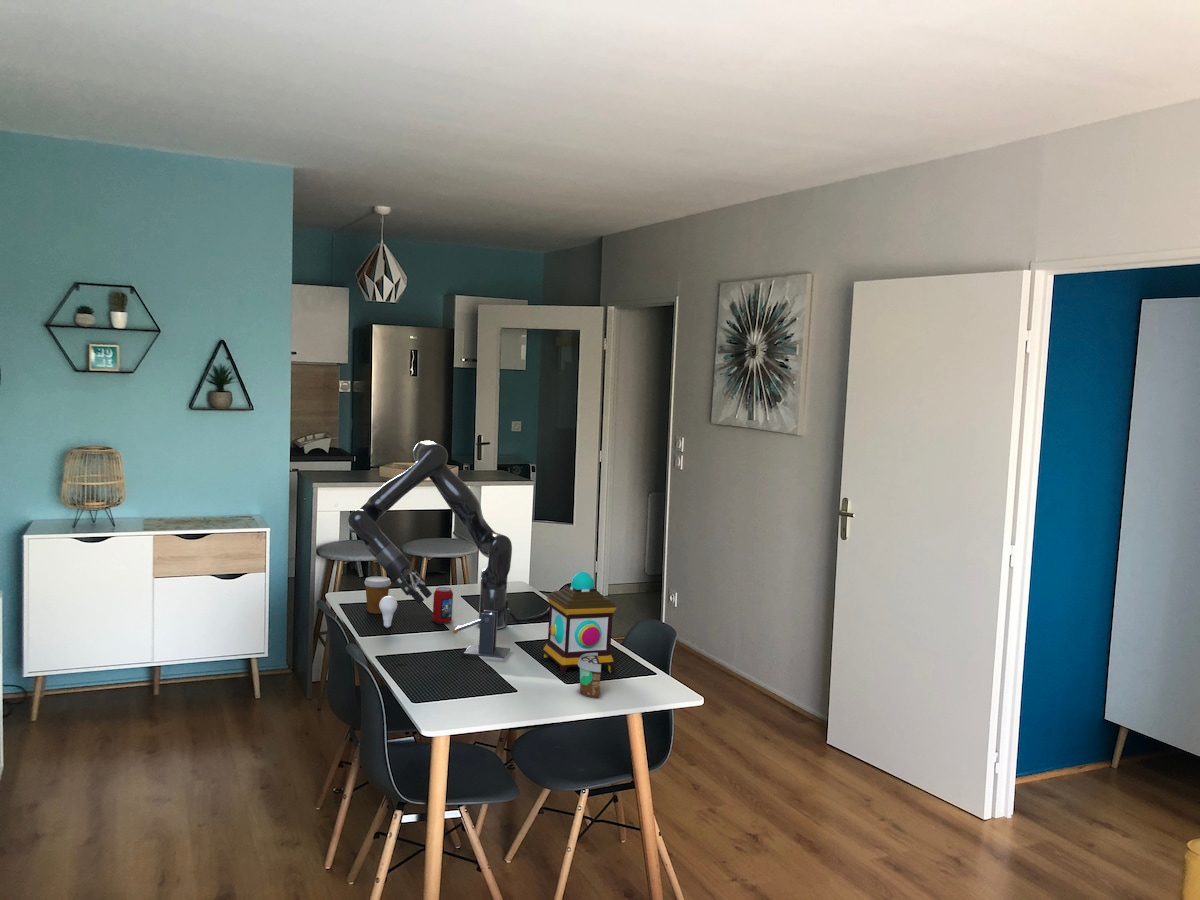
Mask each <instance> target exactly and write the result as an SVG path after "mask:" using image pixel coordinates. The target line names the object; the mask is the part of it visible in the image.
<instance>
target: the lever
mask: <svg viewBox="0 0 1200 900" xmlns="http://www.w3.org/2000/svg"><path fill="white" fill-rule="evenodd" d="M489 614H493V613H489ZM479 623H480V620H479V619H477V620H475V621H471V622H469V623H466V624H464V625H457V627H455V629H454V630H452V631H453V634H455V635H456V634H457V633H458V632H460V631H462V630H465V629H468V628H471V627H473V626H476V625H477V626H478V624H479Z"/></svg>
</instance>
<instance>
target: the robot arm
mask: <svg viewBox="0 0 1200 900" xmlns="http://www.w3.org/2000/svg"><path fill="white" fill-rule="evenodd" d="M412 456H413V460H414V464H413V465H412V466H411V467H409V468H408V469H407V470H405V471H404V472H403V473H401V474H399V475H397V476H395V477H394V478H392V479H390V480H388V481H387V482H386V483H384V484H383V485H382V486H381V487H379V488H378V489H377V490H376V491H375V492H374V493H373V494H372V495H371V496H370V497H369V498H368V499H367V501H366V502H365V503H364V504H363V505H362V506H361V507H360V508H358V509H354V510H352V511H351V512H350V513H349V515H348V517H347V526H348V529H349V531H351V532H352V533H353V534H356V535H357V536H358V537H359V539H361V541H362V542H363V543H364V546H365V547H366V548H367V550H368V551H369V552H370V553H371V554H372V556H373V557H374V559H375V560H376V561H377V563H378V564H379V565H380V567H381V568H382V569H383V570H384V571H385V572H386V573H387V575H389V577H390V578H391V579H393V580H394V579H395V583H396V584H397V586H398V587H399V588H400V590H402V592H403V593H404V595H406V596H411V598H412V599H413V600H414V601H415V602H416V603H417V604H418V605H420V604H422V603H423V602H424V601H425V598H426V599H429V598H430V597H431V596H432V595H433V593H432V591H431V590H430V589H429V588H428V587H427V586H426V579H424V577H423V576H422V575H421V574H420V573H419V572H418V571H417V570H416V569H415V568H412V569H410V568H409V567H411V565H412V562H410V560H409V559H408V558H407V557H406V555H404V553H403V552H402V550H400V548H399V547H397V546H396V545H395V544H394V543H393V542H392V540H390V539H389V537H388V536H387V535H386V534H385V533H384V532H383V531H382V530H381V528H380V527H379V526H378V524H377V523H376V522H377V521H378V520H380V518H381V517H383V515H385V513H387V512H388V511H389V510H390V509H391V508H392V507H393V506H395V504H397V503H398V502H399V501H400V500H401V499H402V498H403V497H405V496H406V494H409V492H410V491H412V490H413V489H414V488H415V487H417V486H418V485H420V484H421V483H422V482H424V481H425V480H427V479H428V478H429V480H430V481H431V482H432V483H433V485H434V486H435V488H436V489H437V491H438V493H439V494H440V495H441V497H442V498H443V500H444V501H445V503H446V504H447V506H448V508H449V509H450V510H451V512H452V513H453V514H454V515H455V517H456V518H457V519H458V521H459V522H460V523H461V524H462V526H463V527H464V529H466V531H467V532H468V533H469V535H470V537H471V538H472V540H473V542H474V543H475V545H476V548H477V549H478V550H479V553H481V555H483V556H484V557H485V558H487V559H488V560H487V561H488V562H487V567H486V568H483V569H482V570H481V574H480V591H479V607H478V620H480V618H481V613H484V610H490V611H498V617H497V630H503V629H504V628H505V627H507V625H508V618H510V617H511V618H512V619H513V620H514V621H516V622H517V621H518V622H521V621H530V620H535V619H539V618H542V617H545V616H546V615H547V614H549V612H550V606H549V607H548V608H547V609H546V610H545V611H544V612H542V613H540V614H537V615H533V616H530V617H524V618H523V617H522V618H520V617H516V616H515V614H514V613H513V612H512V611H511V608H509V600H508V598H507V592H508V590H507V589H508V575H509V573H510V571H511V565H512V555H513V543H512V541H511V539H510V538H509V537H508V536H506V535H504V534H502V533H498V532H496V531H495V530H493V528H492V527H491V526H490V525H489V523H488V522H487V521H486V519H485V518H484V516H483V515H484V514H483V510H482V506H481V504H480V500H478V498H477V497H476V495H475V494H474V493H473V491H472V489H470V487H469V486H468V485H467V484H466V483H465V482H464V481H463V480H462V479H461V478H460V477H459V476H458V475H457V474H455V472H453V471H452V470H451V468H450V467H449V466H448V465H447V462H448V460H449V453H448V451H447V449H446V448H445V447H444V446H443V445H441V444H440V443H436V442H434V441H431V440H424V441H420V442H418V443H417V444H416V445H415V446H414V448H413V453H412ZM417 589H418V590H419V591H420V593H421V594H420V593H419V591H418V590H417ZM422 595H423V596H424V597H425V598H424V597H423V596H422ZM477 626H478V628H480V623H479V624H477Z"/></svg>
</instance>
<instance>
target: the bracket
mask: <svg viewBox="0 0 1200 900" xmlns="http://www.w3.org/2000/svg"><path fill="white" fill-rule="evenodd" d="M489 613H493V614H489ZM497 617H498V611H490V610H484V613H481V618H480V627H479V637H478V644H472V643H471V644H470V645H469V646H468V647H467V648H466V650H465V651H463V652H462V653H463V655H466V656H476V657H488V658H497V659H505V658H506V656H507V655H508V654H509V652H510V651H511V647H504V646H503V647H501V646H497V633H498V629H497Z"/></svg>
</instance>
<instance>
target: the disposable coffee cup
mask: <svg viewBox="0 0 1200 900" xmlns="http://www.w3.org/2000/svg"><path fill="white" fill-rule="evenodd" d="M363 583H364V585H365V597H366V598H365V599H366V610H367V613H370V614H382V612H381V610H380V608H379V603H380V601H381V599H382V598H383V597H385V596H389V591H390V586H391V584H392V582H391V579H390V578H389V577H386V576H368V577H366V578H365V580H364V582H363Z"/></svg>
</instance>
